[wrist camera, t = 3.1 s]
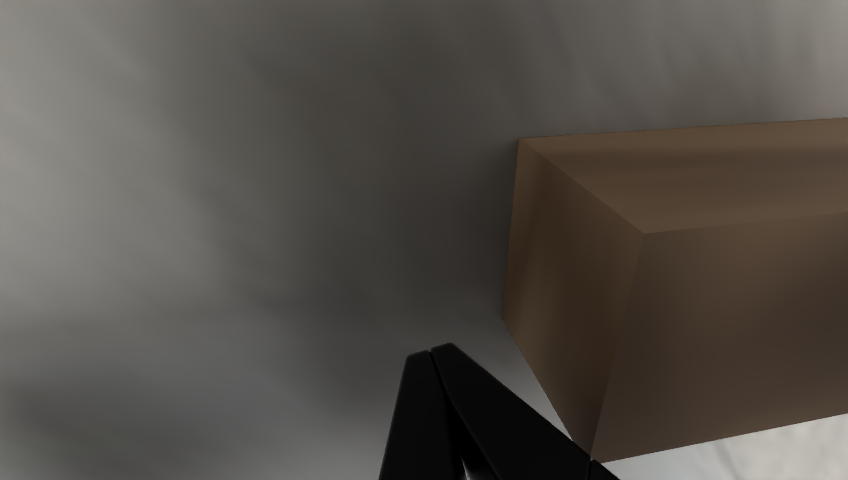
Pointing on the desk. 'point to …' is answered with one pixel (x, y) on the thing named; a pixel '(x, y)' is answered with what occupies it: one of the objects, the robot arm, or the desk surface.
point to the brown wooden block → (682, 280)
